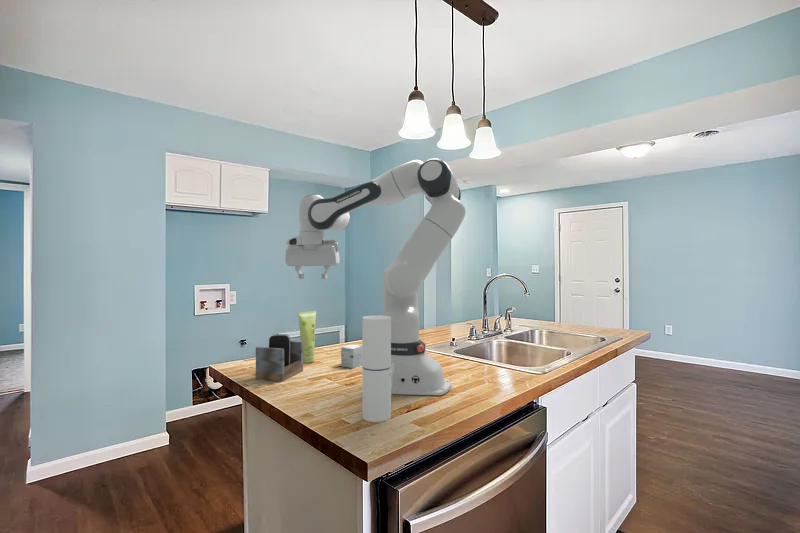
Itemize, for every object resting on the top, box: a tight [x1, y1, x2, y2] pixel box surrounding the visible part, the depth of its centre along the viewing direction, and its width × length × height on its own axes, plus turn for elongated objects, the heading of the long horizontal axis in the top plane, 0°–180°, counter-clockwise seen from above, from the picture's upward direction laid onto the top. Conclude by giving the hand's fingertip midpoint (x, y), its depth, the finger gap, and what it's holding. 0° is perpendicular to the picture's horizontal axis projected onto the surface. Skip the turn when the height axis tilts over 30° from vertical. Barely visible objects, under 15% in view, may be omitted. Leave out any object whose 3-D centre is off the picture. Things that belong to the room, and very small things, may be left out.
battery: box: [268, 333, 291, 367], centre depth 136 cm, size 7×4×11 cm, turn 98°
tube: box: [297, 310, 317, 364], centre depth 154 cm, size 6×5×20 cm
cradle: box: [255, 340, 304, 383], centre depth 136 cm, size 10×13×10 cm
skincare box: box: [340, 344, 363, 369], centre depth 148 cm, size 6×6×7 cm
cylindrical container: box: [361, 314, 392, 423], centre depth 100 cm, size 7×7×25 cm
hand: (312, 278), depth 144 cm, fingers open, 8 cm apart
